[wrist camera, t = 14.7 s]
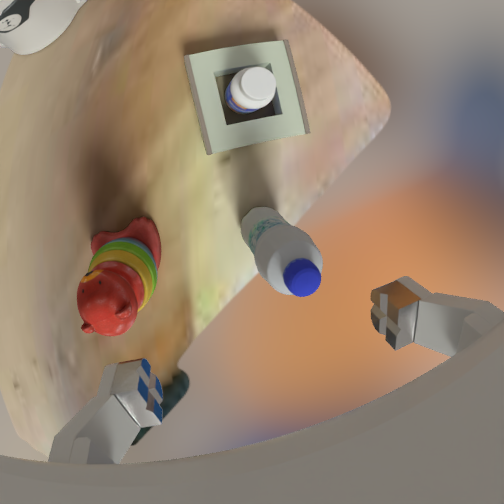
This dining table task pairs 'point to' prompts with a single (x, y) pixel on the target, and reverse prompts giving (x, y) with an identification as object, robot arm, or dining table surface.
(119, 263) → the stacking bear
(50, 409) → the dining table surface
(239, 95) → the pill bottle
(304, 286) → the bottle
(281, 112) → the holed board
